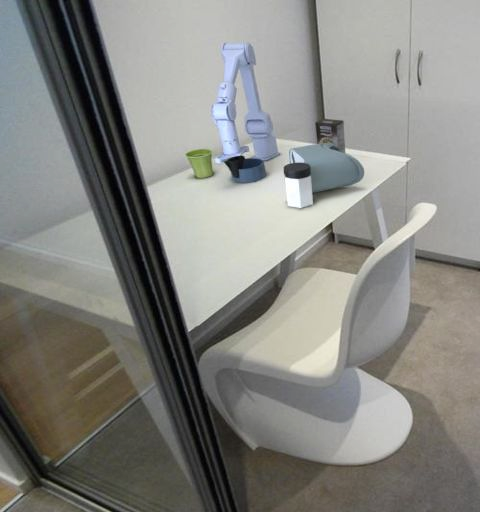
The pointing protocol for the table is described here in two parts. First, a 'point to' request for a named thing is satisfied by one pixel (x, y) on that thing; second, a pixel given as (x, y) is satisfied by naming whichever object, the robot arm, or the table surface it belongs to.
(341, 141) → the coffee box
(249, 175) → the tub
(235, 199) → the table surface
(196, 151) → the plant pot
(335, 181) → the grey-blue rounded tapered piece
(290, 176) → the jar
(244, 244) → the table surface
